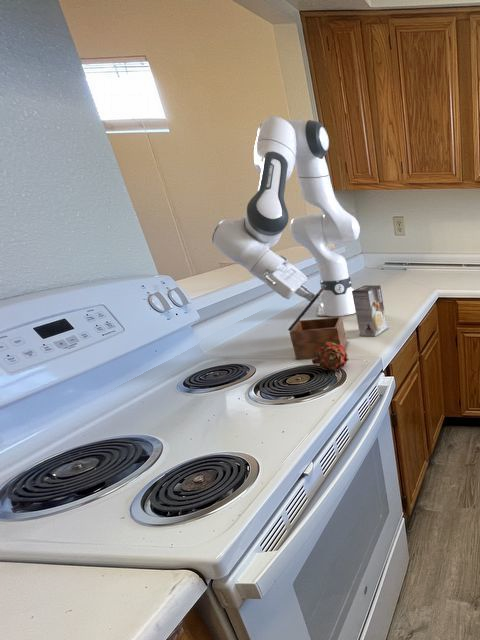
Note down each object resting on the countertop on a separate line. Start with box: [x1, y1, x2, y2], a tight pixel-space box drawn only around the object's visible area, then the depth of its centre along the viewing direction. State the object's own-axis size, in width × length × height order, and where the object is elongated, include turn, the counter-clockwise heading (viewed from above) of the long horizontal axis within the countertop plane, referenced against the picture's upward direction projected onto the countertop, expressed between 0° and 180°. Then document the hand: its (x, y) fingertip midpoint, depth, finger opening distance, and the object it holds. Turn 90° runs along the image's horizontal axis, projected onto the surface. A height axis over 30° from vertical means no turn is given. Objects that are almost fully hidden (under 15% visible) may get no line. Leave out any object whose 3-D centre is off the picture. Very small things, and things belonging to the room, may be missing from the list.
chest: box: [289, 316, 348, 360], centre depth 133 cm, size 14×13×9 cm
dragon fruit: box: [311, 342, 350, 372], centre depth 118 cm, size 8×8×12 cm
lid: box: [287, 285, 326, 332], centre depth 128 cm, size 14×13×1 cm
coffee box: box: [352, 284, 388, 337], centre depth 147 cm, size 9×6×16 cm
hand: (312, 298), depth 128 cm, fingers closed
